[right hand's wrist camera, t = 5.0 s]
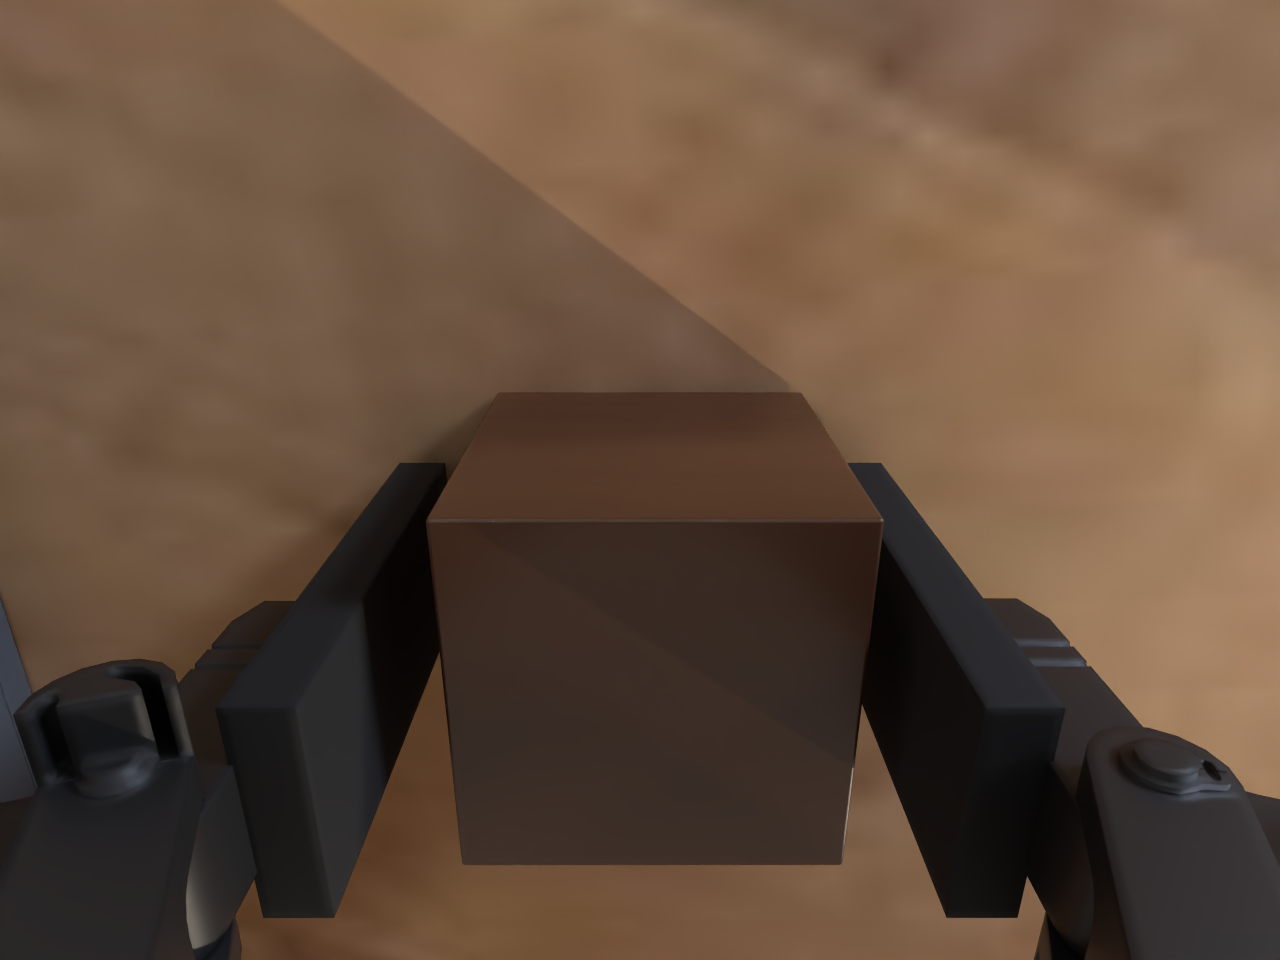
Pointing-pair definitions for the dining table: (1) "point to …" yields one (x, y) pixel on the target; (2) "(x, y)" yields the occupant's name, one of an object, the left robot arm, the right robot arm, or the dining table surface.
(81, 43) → the dining table surface
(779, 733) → the walnut cube
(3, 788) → the grey tray
